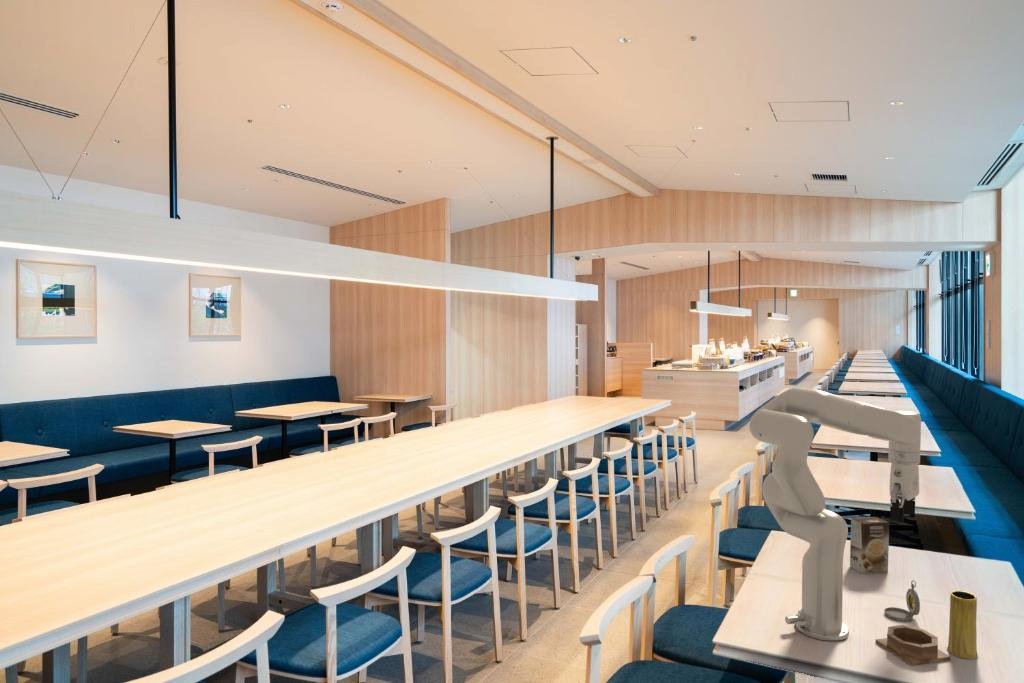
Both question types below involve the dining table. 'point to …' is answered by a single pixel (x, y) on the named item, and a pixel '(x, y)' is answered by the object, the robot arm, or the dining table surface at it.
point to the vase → (963, 625)
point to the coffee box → (869, 544)
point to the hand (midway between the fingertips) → (902, 517)
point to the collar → (912, 645)
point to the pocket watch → (911, 599)
